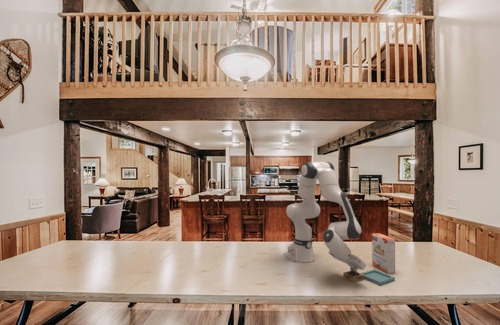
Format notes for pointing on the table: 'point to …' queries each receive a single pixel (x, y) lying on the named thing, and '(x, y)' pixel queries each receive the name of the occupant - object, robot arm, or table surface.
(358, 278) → the collar
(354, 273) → the peg
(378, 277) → the tray
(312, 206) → the robot arm
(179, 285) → the table surface
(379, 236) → the cracker box
